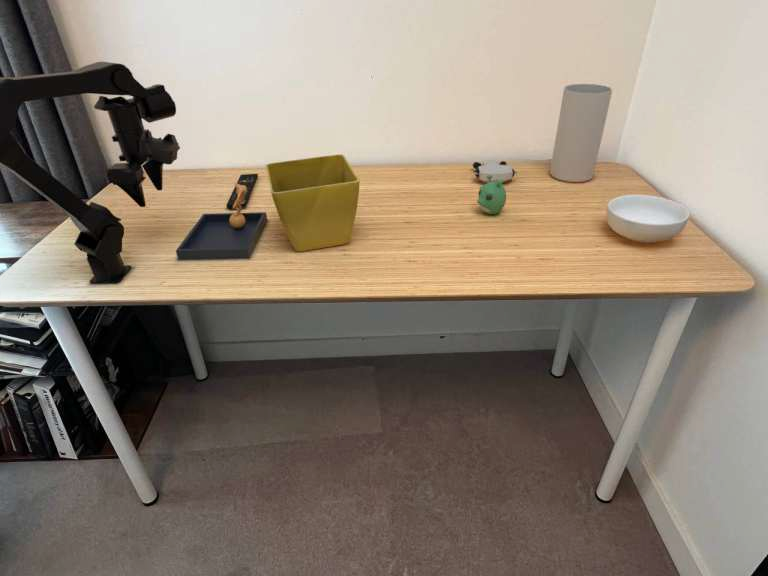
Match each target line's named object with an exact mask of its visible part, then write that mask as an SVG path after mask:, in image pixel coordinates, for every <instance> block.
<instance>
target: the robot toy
mask: <svg viewBox="0 0 768 576" xmlns="http://www.w3.org/2000/svg"><path fill="white" fill-rule="evenodd" d="M470 166H471V167H472V168H473V169H475V171H474V172H473V175H474V176H475V177H476V178H477V179H479V181H482V182H483V183H485V184H486V183H488V182H489V179H487V178H486V177H487V176H488V175H492V178H491V182H492V181H495V182H497V180H498V179H501V180H502V181H503V183H505V182H508V181H510V180H512V179H513V178H514V177H515V174H519V171H515V170H514V169H513V168H512V167H511V166H510V165H508V163H507V161H506V160H505V161H504V160H503V161H502V160H501V161H498V160H497V159H494V158H493V159H492V158H490V159H488V158H487V159H484V160H483V161H482V163H481V162H478V161H475V162H471V163H470Z"/></svg>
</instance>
